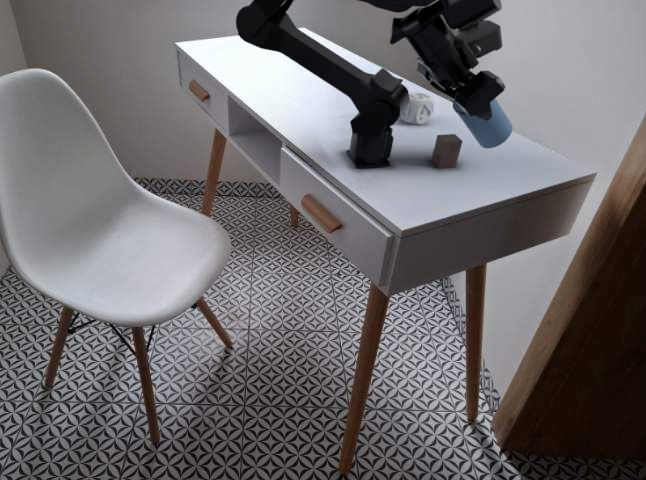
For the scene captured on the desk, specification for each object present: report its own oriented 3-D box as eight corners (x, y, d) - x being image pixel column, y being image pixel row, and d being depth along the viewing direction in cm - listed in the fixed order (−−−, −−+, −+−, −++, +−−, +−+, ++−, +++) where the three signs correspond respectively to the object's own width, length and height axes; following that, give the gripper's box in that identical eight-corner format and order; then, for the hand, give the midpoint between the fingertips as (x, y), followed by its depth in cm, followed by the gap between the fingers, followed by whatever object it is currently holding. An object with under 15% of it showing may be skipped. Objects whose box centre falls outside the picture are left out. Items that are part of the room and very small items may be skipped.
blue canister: (452, 156, 89) (470, 91, 82) (437, 141, 93) (452, 77, 86) (511, 152, 91) (534, 88, 84) (493, 137, 95) (513, 75, 88)
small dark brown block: (438, 168, 92) (445, 142, 88) (431, 160, 94) (437, 134, 91) (455, 167, 92) (462, 141, 89) (447, 159, 94) (454, 133, 91)
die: (431, 122, 108) (436, 98, 104) (413, 126, 105) (418, 102, 102) (414, 113, 111) (419, 90, 108) (397, 118, 109) (401, 94, 105)
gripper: (513, 18, 69) (555, 96, 78) (450, -11, 83) (491, 58, 92) (445, 80, 73) (493, 148, 82) (395, 42, 87) (440, 104, 96)
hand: (479, 111), depth 88 cm, fingers closed on blue canister, 6 cm apart
